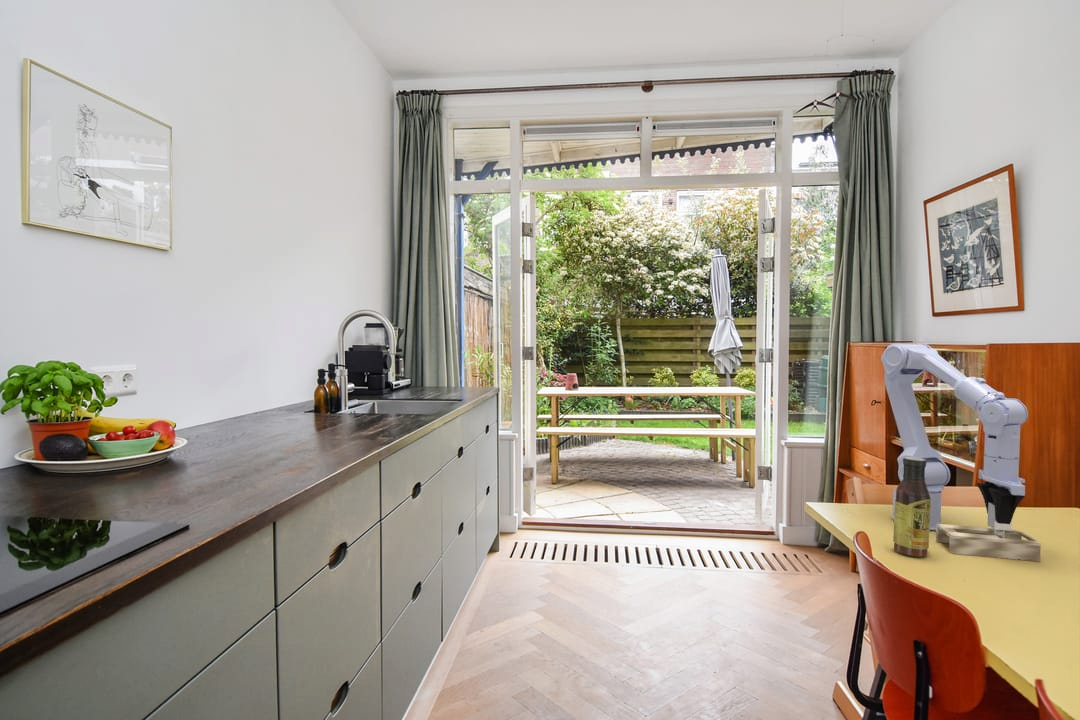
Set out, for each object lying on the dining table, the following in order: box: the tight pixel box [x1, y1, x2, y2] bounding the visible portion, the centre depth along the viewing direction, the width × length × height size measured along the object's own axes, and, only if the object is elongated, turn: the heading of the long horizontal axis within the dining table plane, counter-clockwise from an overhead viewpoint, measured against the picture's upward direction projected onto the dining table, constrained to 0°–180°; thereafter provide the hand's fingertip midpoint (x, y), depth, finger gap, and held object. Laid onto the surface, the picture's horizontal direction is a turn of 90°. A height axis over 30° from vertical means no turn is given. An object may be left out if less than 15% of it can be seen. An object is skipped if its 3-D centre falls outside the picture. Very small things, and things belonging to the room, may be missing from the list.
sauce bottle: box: [892, 457, 931, 558], centre depth 119 cm, size 6×6×20 cm
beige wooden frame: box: [935, 523, 1042, 562], centre depth 121 cm, size 16×8×4 cm, turn 74°
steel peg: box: [987, 502, 1013, 538], centre depth 120 cm, size 4×4×9 cm
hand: (999, 520), depth 120 cm, fingers closed on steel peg, 3 cm apart
